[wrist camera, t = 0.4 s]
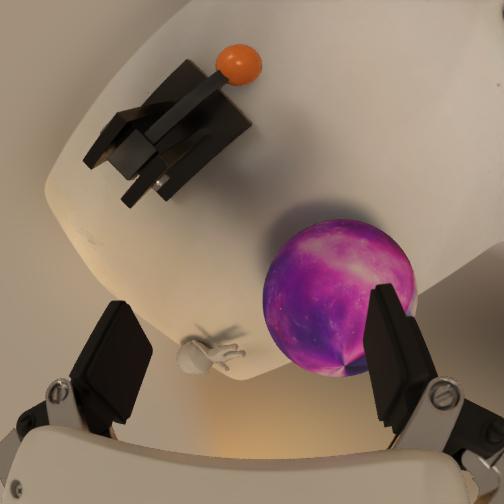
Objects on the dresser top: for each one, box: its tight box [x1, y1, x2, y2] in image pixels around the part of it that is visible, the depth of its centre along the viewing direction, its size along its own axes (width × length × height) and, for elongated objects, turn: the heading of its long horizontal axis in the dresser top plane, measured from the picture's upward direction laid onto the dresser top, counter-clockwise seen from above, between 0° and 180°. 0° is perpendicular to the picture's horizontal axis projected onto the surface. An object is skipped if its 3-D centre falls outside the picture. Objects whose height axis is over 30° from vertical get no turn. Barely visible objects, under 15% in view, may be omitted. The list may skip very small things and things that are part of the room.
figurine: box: [176, 340, 245, 375], centre depth 40 cm, size 8×5×12 cm
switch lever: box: [107, 44, 262, 180], centre depth 18 cm, size 13×3×3 cm, turn 131°
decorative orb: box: [263, 219, 417, 377], centre depth 27 cm, size 15×15×15 cm
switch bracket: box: [83, 59, 253, 208], centre depth 21 cm, size 12×9×12 cm
